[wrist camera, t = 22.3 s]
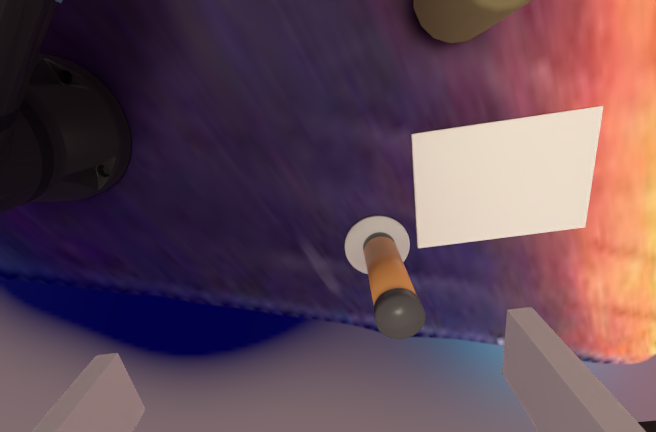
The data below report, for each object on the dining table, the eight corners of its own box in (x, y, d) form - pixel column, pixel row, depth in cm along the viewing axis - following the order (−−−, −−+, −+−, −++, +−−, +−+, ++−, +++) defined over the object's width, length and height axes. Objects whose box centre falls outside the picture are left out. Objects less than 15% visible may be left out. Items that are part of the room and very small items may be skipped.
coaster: (348, 276, 42) (349, 278, 42) (340, 219, 40) (340, 221, 39) (410, 268, 42) (411, 270, 41) (406, 211, 39) (407, 212, 39)
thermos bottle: (363, 263, 41) (377, 341, 29) (360, 233, 40) (373, 301, 27) (397, 259, 41) (426, 336, 28) (395, 229, 39) (424, 296, 27)
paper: (417, 246, 41) (417, 248, 40) (411, 133, 36) (411, 134, 35) (582, 225, 40) (585, 227, 39) (600, 105, 35) (603, 106, 34)
